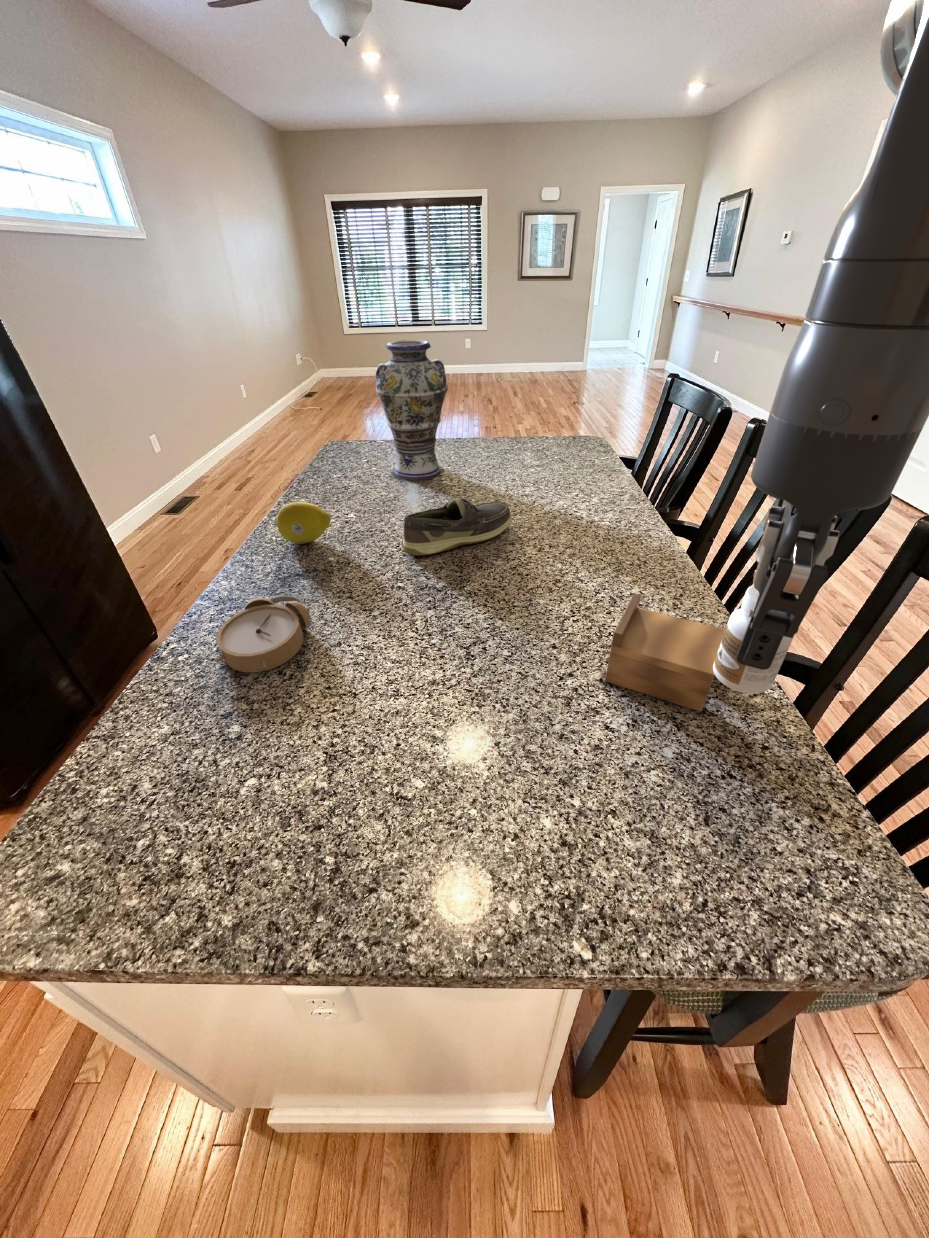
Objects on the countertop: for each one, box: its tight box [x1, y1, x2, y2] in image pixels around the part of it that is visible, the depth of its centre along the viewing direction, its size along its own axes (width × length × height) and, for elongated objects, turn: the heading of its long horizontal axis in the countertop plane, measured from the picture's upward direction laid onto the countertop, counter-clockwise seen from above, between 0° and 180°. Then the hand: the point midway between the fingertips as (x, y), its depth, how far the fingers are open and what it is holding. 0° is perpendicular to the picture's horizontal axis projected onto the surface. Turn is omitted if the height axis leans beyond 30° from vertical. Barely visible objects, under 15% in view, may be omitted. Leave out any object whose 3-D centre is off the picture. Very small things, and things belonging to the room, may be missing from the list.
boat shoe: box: [402, 497, 513, 556], centre depth 100 cm, size 9×25×8 cm, turn 130°
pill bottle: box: [713, 584, 794, 695], centre depth 39 cm, size 4×4×8 cm
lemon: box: [274, 501, 331, 545], centre depth 100 cm, size 11×8×8 cm
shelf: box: [604, 593, 725, 712], centre depth 66 cm, size 12×10×8 cm
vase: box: [374, 339, 449, 481], centre depth 126 cm, size 17×17×30 cm
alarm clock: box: [215, 595, 312, 673], centre depth 75 cm, size 11×5×15 cm
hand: (754, 643), depth 39 cm, fingers closed on pill bottle, 4 cm apart
